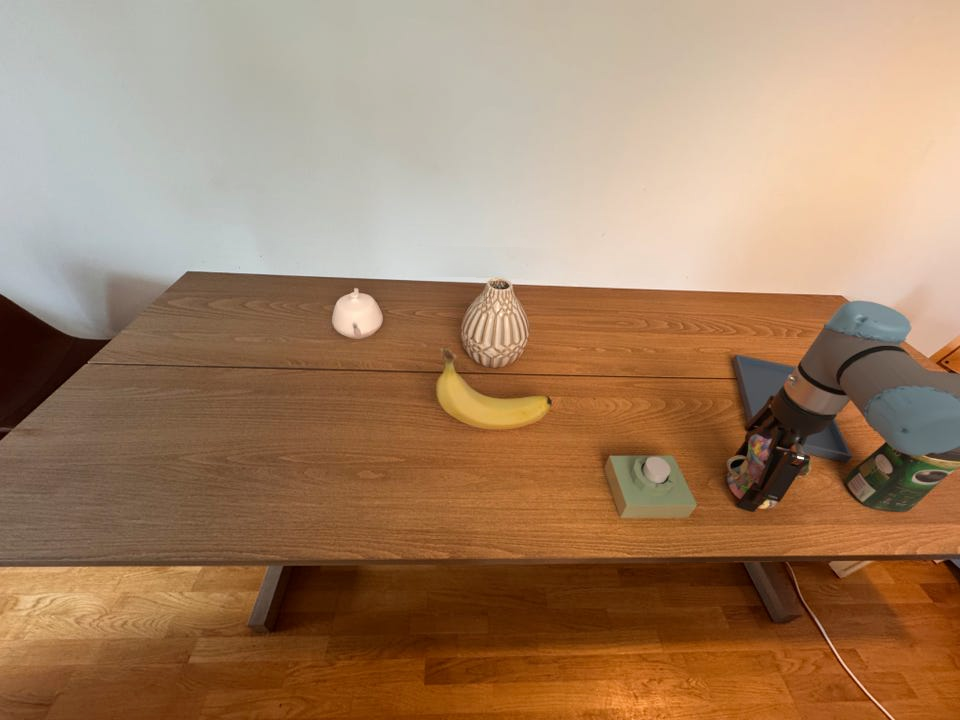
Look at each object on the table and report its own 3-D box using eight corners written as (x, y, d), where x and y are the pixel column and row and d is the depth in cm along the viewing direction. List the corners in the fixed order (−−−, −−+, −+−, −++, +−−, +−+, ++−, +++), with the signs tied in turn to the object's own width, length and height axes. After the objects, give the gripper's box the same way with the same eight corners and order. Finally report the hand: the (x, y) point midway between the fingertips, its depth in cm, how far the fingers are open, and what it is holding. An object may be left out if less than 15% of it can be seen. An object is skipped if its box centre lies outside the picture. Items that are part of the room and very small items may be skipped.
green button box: (620, 518, 71) (630, 498, 67) (603, 468, 78) (612, 448, 75) (688, 517, 72) (702, 498, 68) (665, 468, 79) (677, 448, 75)
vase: (525, 340, 108) (536, 269, 95) (524, 381, 96) (537, 307, 83) (464, 333, 109) (467, 263, 96) (455, 374, 96) (457, 299, 83)
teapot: (385, 351, 101) (381, 316, 95) (331, 356, 99) (324, 320, 92) (382, 306, 116) (379, 273, 110) (335, 309, 114) (329, 276, 107)
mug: (762, 470, 80) (792, 434, 73) (788, 515, 73) (823, 479, 66) (700, 466, 80) (724, 429, 73) (719, 511, 73) (748, 474, 66)
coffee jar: (886, 479, 80) (962, 412, 68) (915, 517, 74) (1004, 450, 62) (834, 473, 81) (901, 405, 69) (858, 510, 75) (937, 443, 63)
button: (647, 483, 70) (650, 476, 68) (638, 463, 73) (642, 456, 72) (670, 483, 70) (674, 476, 69) (661, 463, 73) (665, 456, 72)
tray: (846, 463, 83) (852, 456, 81) (752, 439, 86) (757, 433, 85) (807, 376, 103) (811, 370, 102) (732, 360, 106) (735, 354, 105)
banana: (543, 412, 89) (561, 336, 76) (549, 433, 84) (569, 356, 71) (436, 415, 86) (435, 337, 73) (436, 437, 82) (435, 358, 69)
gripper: (767, 351, 71) (712, 438, 85) (801, 445, 55) (726, 532, 70) (816, 361, 69) (751, 448, 84) (866, 461, 54) (776, 547, 68)
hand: (740, 486), depth 77 cm, fingers closed on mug, 8 cm apart
